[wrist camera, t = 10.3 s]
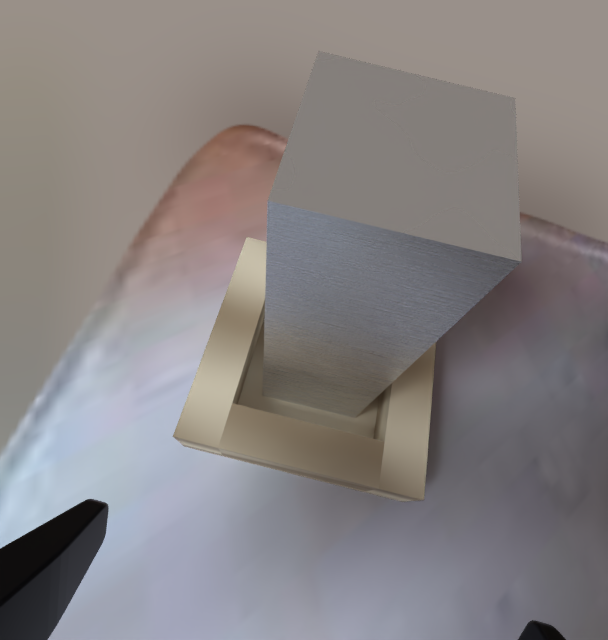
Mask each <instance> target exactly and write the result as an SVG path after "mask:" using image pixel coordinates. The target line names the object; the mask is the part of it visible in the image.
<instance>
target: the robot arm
mask: <svg viewBox="0 0 608 640" xmlns="http://www.w3.org/2000/svg"><path fill="white" fill-rule="evenodd" d="M107 518H108V504H107V503H105V502H101V501H98V500H94V499H88V500H85V501H83V502H81V503H80V504H78V505H76V506H74V507H73V508H71V509H69V510H67V511H66V512H64V513H62V514H60V515H59V516H57V517H55V518H53V519H52V520H50V521H48V522H46V523H44V524H43V525H41V526H39V527H37V528H36V529H34V530H32V531H30V532H29V533H27V534H25V535H23V536H22V537H20V538H18V539H16V540H15V541H13V542H11V543H9V544H8V545H6V546H4V547H2V548H1V549H0V640H48V638H49V636H50V635H51V633H52V632H53V630H54V629H55V627H56V626H57V624H58V622H59V620H60V619H61V617H62V615H63V613H64V612H65V610H66V608H67V606H68V604H69V603H70V601H71V599H72V597H73V595H74V594H75V592H76V590H77V588H78V586H79V585H80V583H81V581H82V579H83V577H84V576H85V574H86V572H87V570H88V568H89V566H90V565H91V563H92V561H93V559H94V557H95V556H96V554H97V552H98V550H99V548H100V547H101V545H102V543H103V540H104V538H105V534H106V527H107ZM518 640H566V639H565V638H564V637H563V636H562V635H561V634H560V633H559V631H558V630H557V629H556V628H554V627H553V626H551V625H549V624H546V623H542V622H539V621H535V620H532V621H530V622H529V623H528V624H527V626H526V627H525V629H524V631H523V632H522V634H521V636H520V637H519V639H518Z"/></svg>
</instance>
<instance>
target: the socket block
mask: <svg viewBox="0 0 608 640" xmlns="http://www.w3.org/2000/svg"><path fill="white" fill-rule="evenodd" d="M266 248H267V242H264V241H260V240H256V239H252V238H248V237H247V238H246V241H245V244H244V246H243V249H242V252H241V254H240V257H239V260H238V262H237V265H236V268H235V270H234V273H233V276H232V279H231V281H230V284H229V287H228V289H227V292H226V295H225V297H224V300H223V303H222V306H221V308H220V311H219V314H218V316H217V319H216V322H215V324H214V327H213V330H212V332H211V335H210V338H209V341H208V343H207V346H206V349H205V351H204V354H203V357H202V359H201V362H200V365H199V368H198V370H197V373H196V376H195V378H194V381H193V384H192V386H191V389H190V392H189V395H188V397H187V400H186V403H185V405H184V408H183V411H182V413H181V416H180V419H179V421H178V424H177V427H176V430H175V432H174V435H173V437H174V438H175V439H176V440H178V441H179V442H180V443H181V444H182V445H183V446H185V447H189V448H193V449H196V450H200V451H204V452H208V453H212V454H216V455H220V456H224V457H228V458H232V459H236V460H240V461H244V462H248V463H252V464H256V465H260V466H263V467H267V468H271V469H275V470H279V471H283V472H287V473H291V474H295V475H299V476H303V477H307V478H311V479H315V480H319V481H323V482H326V483H330V484H334V485H338V486H342V487H346V488H350V489H354V490H358V491H362V492H366V493H370V494H374V495H378V496H382V497H386V498H390V499H393V500H397V501H401V502H406V501H419V500H424V493H425V480H426V467H427V454H428V442H429V429H430V416H431V403H432V390H433V377H434V364H435V351H436V342H435V343H434V344H433V345H432V346H431V347H430V348H429V349H428V350H427V351H425V352H424V353H423V354H422V355H421V356H420V357H419V358H418V359H417V360H416V361H415V362H414V363H413V364H412V365H410V366H409V367H408V368H407V369H406V370H405V371H404V372H403V373H402V374H401V375H400V376H399V377H398V378H397V379H396V380H394V381H393V382H392V383H391V384H390V385H389V386H388V387H387V388H386V389H385V390H384V391H383V392H382V393H381V394H379V395H378V396H377V397H376V398H375V399H374V400H373V401H372V402H371V403H370V404H369V405H368V406H367V407H366V408H365V409H363V410H362V411H361V412H360V413H359V414H358V415H357V416H356V417H355V418H353V417H348V416H344V415H340V414H336V413H332V412H328V411H324V410H319V409H315V408H311V407H307V406H303V405H299V404H295V403H290V402H286V401H282V400H278V399H274V398H270V397H266V396H263V360H264V323H265V286H266Z"/></svg>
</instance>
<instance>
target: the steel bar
mask: <svg viewBox="0 0 608 640" xmlns="http://www.w3.org/2000/svg"><path fill="white" fill-rule="evenodd" d="M515 110H516V108H515V98H513V97H508V96H504V95H499V94H496V93H491V92H487V91H483V90H479V89H474V88H471V87H466V86H462V85H458V84H454V83H450V82H446V81H442V80H437V79H433V78H429V77H425V76H420V75H416V74H412V73H408V72H404V71H400V70H396V69H391V68H387V67H383V66H379V65H375V64H371V63H366V62H362V61H358V60H354V59H350V58H346V57H341V56H337V55H333V54H329V53H325V52H320V51H318V54H317V57H316V60H315V63H314V66H313V69H312V72H311V75H310V78H309V81H308V84H307V87H306V89H305V92H304V95H303V98H302V101H301V104H300V107H299V110H298V113H297V116H296V119H295V122H294V125H293V128H292V131H291V134H290V137H289V140H288V142H287V145H286V148H285V151H284V154H283V157H282V160H281V163H280V166H279V169H278V172H277V175H276V178H275V181H274V184H273V187H272V190H271V193H270V196H269V199H268V211H267V248H266V286H265V323H264V360H263V396H266V397H270V398H274V399H278V400H282V401H286V402H290V403H295V404H299V405H303V406H307V407H311V408H315V409H319V410H324V411H328V412H332V413H336V414H340V415H344V416H348V417H353V418H355V417H356V416H357V415H358V414H359V413H360V412H361V411H362V410H363V409H365V408H366V407H367V406H368V405H369V404H370V403H371V402H372V401H373V400H374V399H375V398H376V397H377V396H378V395H379V394H381V393H382V392H383V391H384V390H385V389H386V388H387V387H388V386H389V385H390V384H391V383H392V382H393V381H394V380H396V379H397V378H398V377H399V376H400V375H401V374H402V373H403V372H404V371H405V370H406V369H407V368H408V367H409V366H410V365H412V364H413V363H414V362H415V361H416V360H417V359H418V358H419V357H420V356H421V355H422V354H423V353H424V352H425V351H427V350H428V349H429V348H430V347H431V346H432V345H433V344H434V343H435V342H436V341H437V340H438V339H439V338H440V337H441V336H443V335H444V334H445V333H446V332H447V331H448V330H449V329H450V328H451V327H452V326H453V325H454V324H455V323H456V322H458V321H459V320H460V319H461V318H462V317H463V316H464V315H465V314H466V313H467V312H468V311H469V310H470V309H471V308H472V307H474V306H475V305H476V304H477V303H478V302H479V301H480V300H481V299H482V298H483V297H484V296H485V295H486V294H487V293H488V292H490V291H491V290H492V289H493V288H494V287H495V286H496V285H497V284H498V283H499V282H500V281H501V280H502V279H503V278H505V277H506V276H507V275H508V274H509V273H510V272H511V271H512V270H513V269H514V268H515V267H516V266H517V265H518V264H519V263H521V262H522V261H521V235H520V210H519V185H518V160H517V134H516V111H515Z"/></svg>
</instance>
